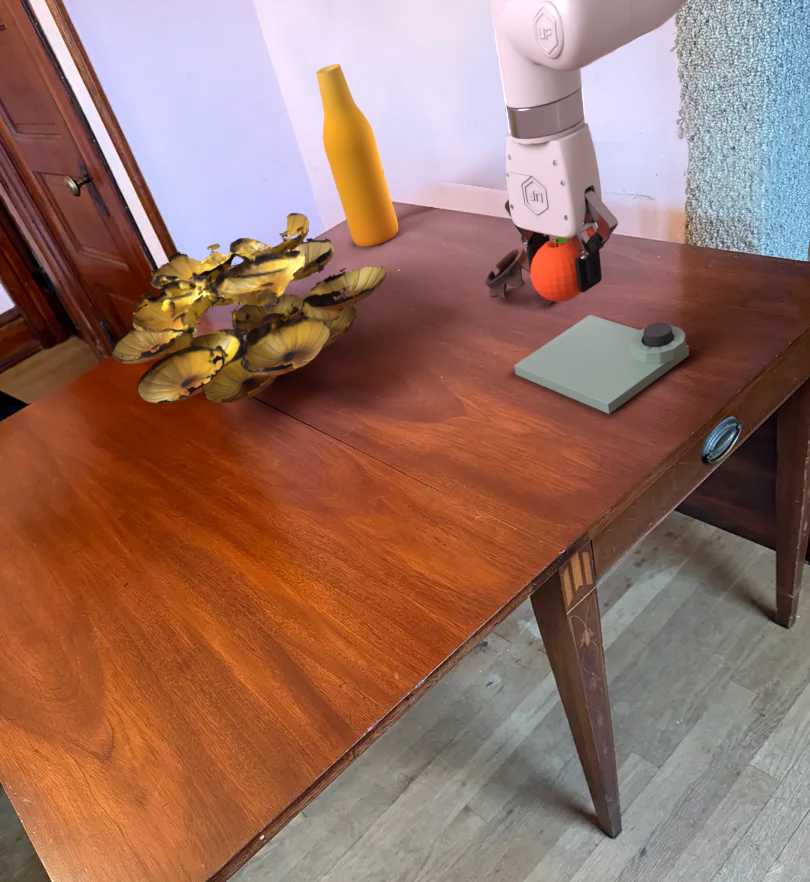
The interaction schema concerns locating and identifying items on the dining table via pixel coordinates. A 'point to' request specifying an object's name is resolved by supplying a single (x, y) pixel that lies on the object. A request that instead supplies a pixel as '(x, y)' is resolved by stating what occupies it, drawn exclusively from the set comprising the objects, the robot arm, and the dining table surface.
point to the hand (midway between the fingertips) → (565, 278)
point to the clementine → (555, 270)
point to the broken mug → (509, 273)
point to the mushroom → (240, 317)
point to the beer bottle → (355, 162)
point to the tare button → (657, 335)
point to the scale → (601, 362)
